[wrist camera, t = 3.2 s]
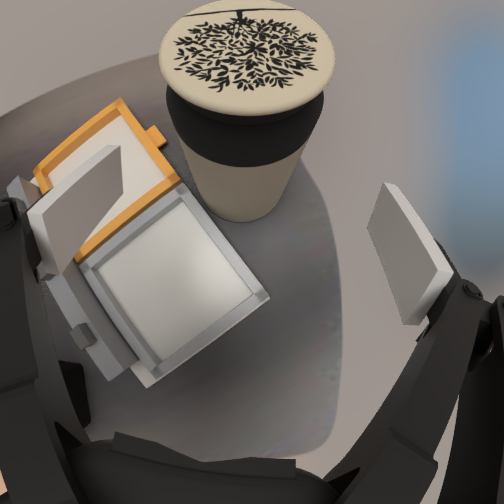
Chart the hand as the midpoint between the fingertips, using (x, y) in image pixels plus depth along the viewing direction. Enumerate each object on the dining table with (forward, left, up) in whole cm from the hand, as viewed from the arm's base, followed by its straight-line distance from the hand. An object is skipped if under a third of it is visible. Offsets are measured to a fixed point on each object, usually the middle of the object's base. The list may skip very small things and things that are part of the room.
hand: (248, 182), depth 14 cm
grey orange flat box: (-6, -9, -13) cm, 17 cm away
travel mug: (-4, +3, -14) cm, 15 cm away
